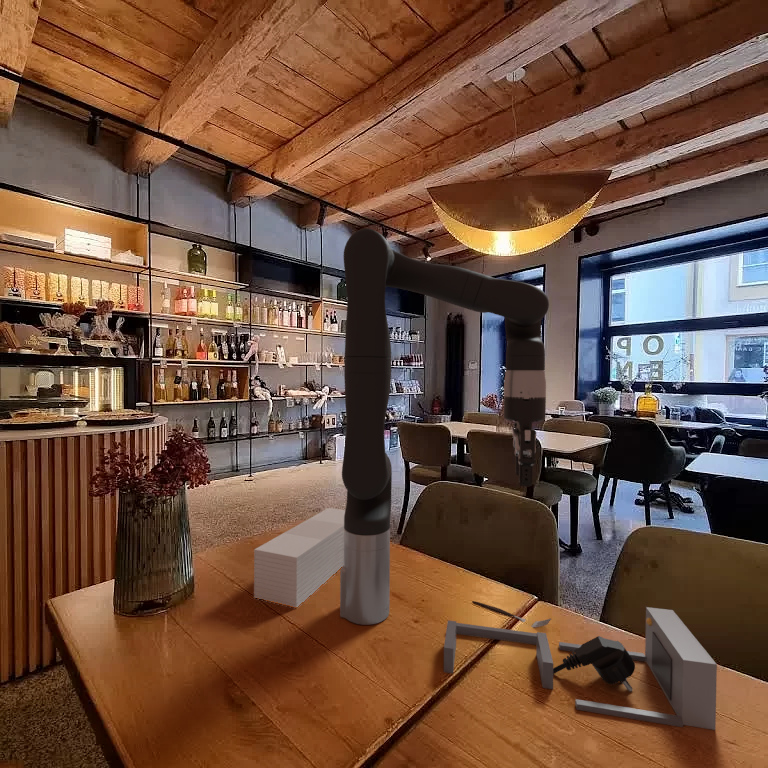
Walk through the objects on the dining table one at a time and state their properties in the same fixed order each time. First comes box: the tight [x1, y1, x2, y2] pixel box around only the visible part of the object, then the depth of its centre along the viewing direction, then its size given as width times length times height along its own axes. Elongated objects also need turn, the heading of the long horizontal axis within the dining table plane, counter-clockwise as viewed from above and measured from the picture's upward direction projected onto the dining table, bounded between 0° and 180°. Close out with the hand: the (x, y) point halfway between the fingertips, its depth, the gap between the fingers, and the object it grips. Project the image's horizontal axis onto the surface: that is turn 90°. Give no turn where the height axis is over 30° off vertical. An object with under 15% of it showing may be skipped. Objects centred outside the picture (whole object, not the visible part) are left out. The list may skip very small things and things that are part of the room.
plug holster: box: [443, 620, 554, 690], centre depth 74 cm, size 17×12×4 cm
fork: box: [471, 600, 552, 629], centre depth 87 cm, size 3×16×2 cm, turn 52°
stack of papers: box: [253, 507, 345, 608], centre depth 105 cm, size 32×11×11 cm, turn 158°
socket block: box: [558, 606, 718, 731], centre depth 68 cm, size 18×15×9 cm
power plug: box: [553, 635, 636, 693], centre depth 68 cm, size 6×8×12 cm
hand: (523, 480), depth 82 cm, fingers open, 8 cm apart
